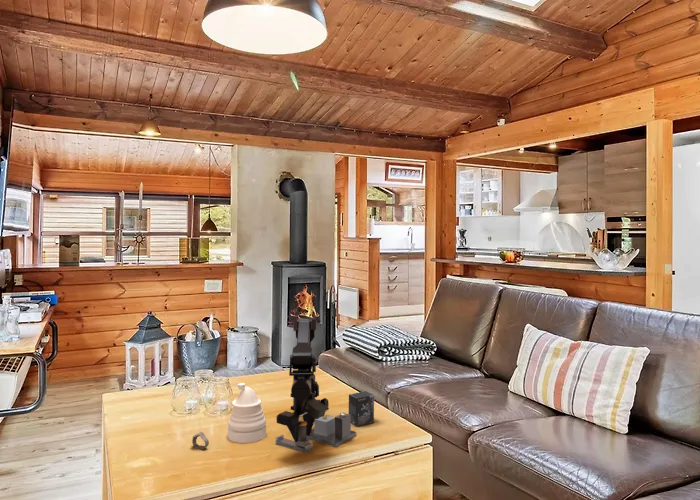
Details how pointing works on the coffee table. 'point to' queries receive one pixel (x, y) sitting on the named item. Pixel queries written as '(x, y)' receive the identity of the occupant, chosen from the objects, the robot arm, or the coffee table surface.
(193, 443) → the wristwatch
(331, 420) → the block
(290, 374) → the robot arm
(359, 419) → the box
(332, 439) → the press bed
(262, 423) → the honey pot
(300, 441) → the lever
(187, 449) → the coffee table surface
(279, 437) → the lever rail
